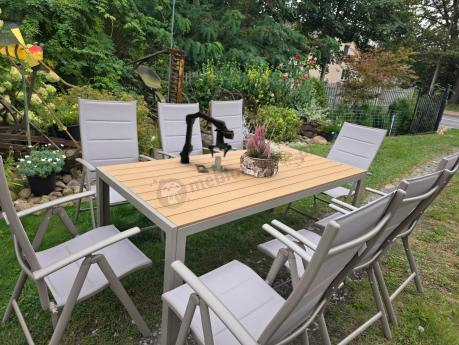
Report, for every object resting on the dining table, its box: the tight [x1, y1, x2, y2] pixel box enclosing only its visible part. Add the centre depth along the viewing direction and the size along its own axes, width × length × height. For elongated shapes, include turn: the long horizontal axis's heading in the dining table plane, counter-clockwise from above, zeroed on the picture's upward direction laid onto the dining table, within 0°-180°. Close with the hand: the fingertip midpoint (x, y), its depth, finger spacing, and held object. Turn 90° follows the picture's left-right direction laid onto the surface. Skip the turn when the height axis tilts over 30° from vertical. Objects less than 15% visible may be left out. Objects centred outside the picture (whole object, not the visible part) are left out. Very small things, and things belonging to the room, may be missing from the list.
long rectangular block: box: [214, 155, 222, 169], centre depth 231 cm, size 3×6×9 cm, turn 18°
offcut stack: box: [197, 168, 210, 174], centre depth 220 cm, size 8×3×2 cm, turn 95°
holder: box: [210, 163, 225, 171], centre depth 232 cm, size 8×9×3 cm
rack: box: [195, 164, 207, 171], centre depth 228 cm, size 6×11×2 cm, turn 18°
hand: (218, 157), depth 229 cm, fingers open, 9 cm apart
